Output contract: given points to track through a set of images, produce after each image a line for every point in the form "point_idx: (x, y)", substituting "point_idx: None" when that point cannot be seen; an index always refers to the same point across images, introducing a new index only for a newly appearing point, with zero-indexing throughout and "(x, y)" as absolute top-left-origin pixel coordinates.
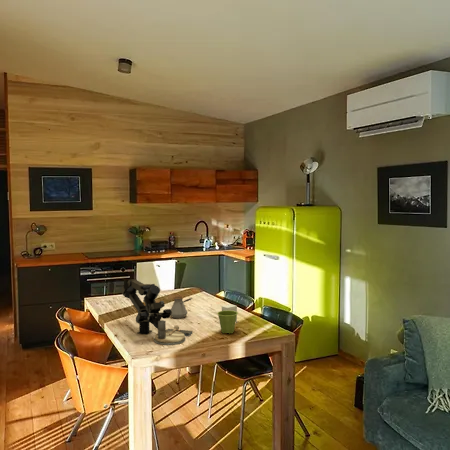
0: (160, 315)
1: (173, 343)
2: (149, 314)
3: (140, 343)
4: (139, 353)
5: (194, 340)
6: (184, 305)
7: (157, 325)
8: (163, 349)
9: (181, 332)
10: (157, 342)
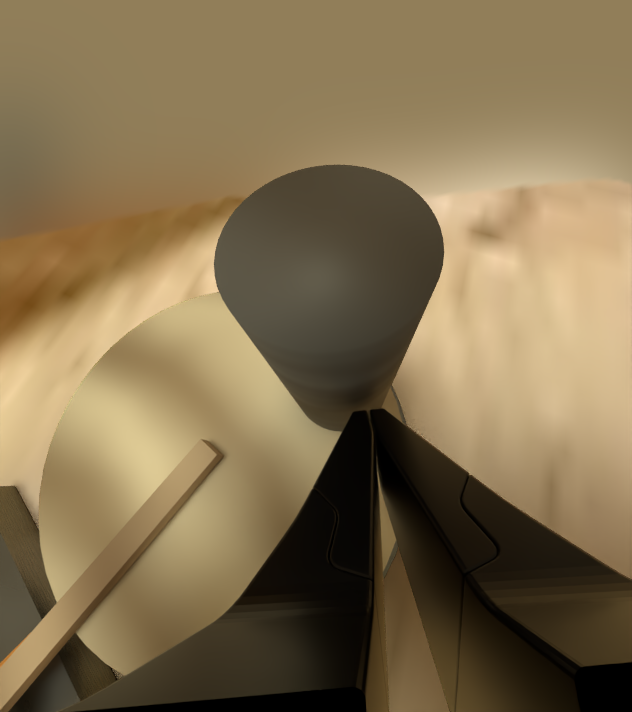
0: (137, 706)
1: None
2: None
3: (580, 487)
4: (590, 217)
5: (64, 347)
6: None
7: (398, 433)
8: None
9: (13, 574)
10: (392, 388)
